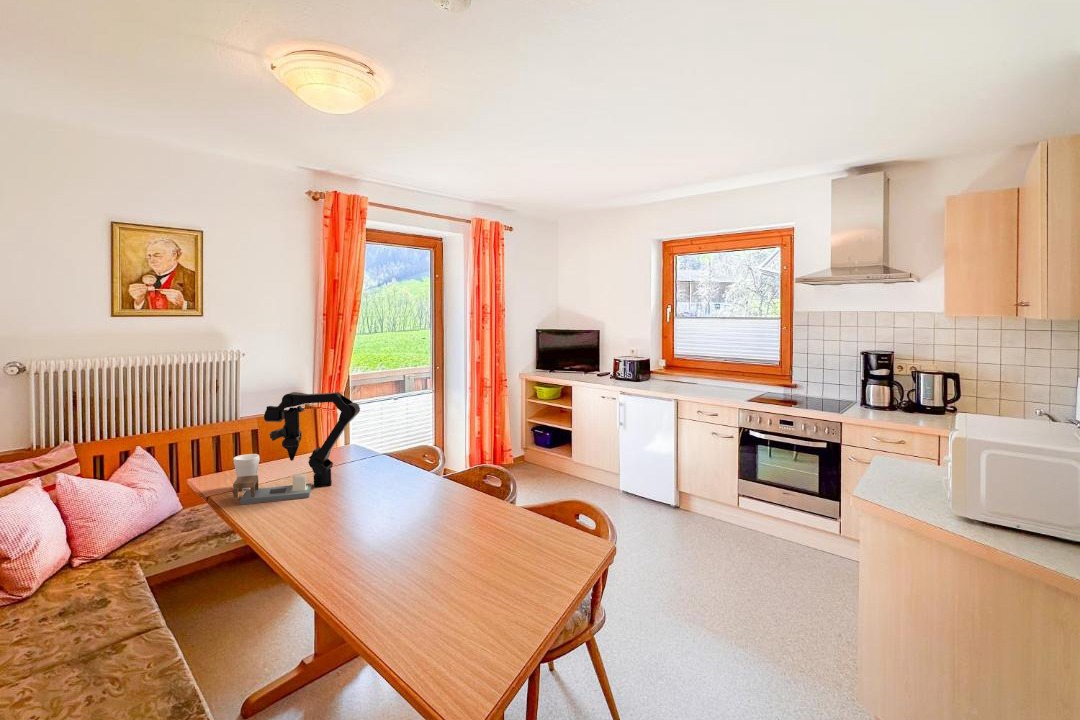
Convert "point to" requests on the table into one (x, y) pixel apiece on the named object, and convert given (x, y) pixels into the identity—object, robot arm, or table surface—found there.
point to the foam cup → (246, 465)
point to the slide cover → (245, 485)
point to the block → (299, 481)
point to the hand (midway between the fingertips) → (292, 457)
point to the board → (275, 494)
